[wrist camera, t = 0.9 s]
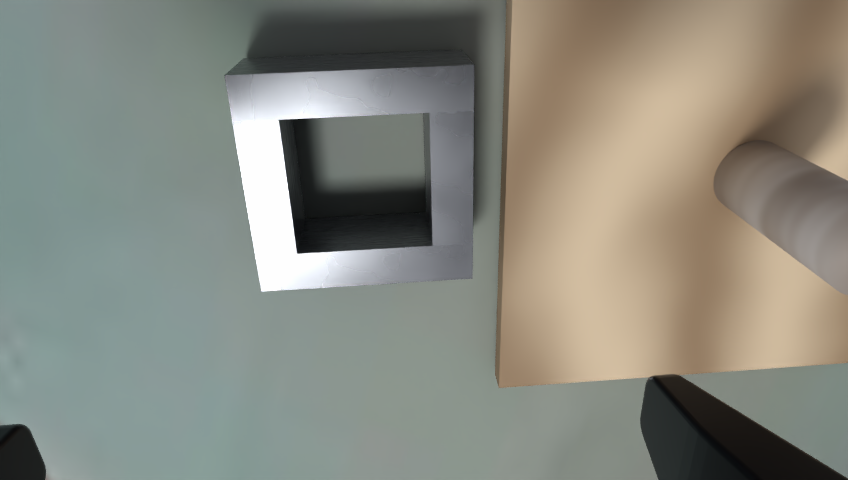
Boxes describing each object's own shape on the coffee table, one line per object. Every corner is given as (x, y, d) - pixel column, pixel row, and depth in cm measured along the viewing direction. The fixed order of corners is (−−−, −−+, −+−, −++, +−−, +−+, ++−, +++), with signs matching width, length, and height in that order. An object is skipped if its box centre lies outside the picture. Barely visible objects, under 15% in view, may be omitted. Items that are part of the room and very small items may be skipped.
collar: (461, 49, 18) (473, 64, 16) (461, 242, 21) (472, 278, 19) (243, 58, 18) (224, 75, 15) (273, 253, 20) (261, 291, 18)
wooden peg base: (1065, -114, 17) (1402, -141, 12) (889, 346, 24) (1045, 468, 19) (509, -98, 16) (581, -119, 11) (495, 374, 23) (533, 511, 18)
